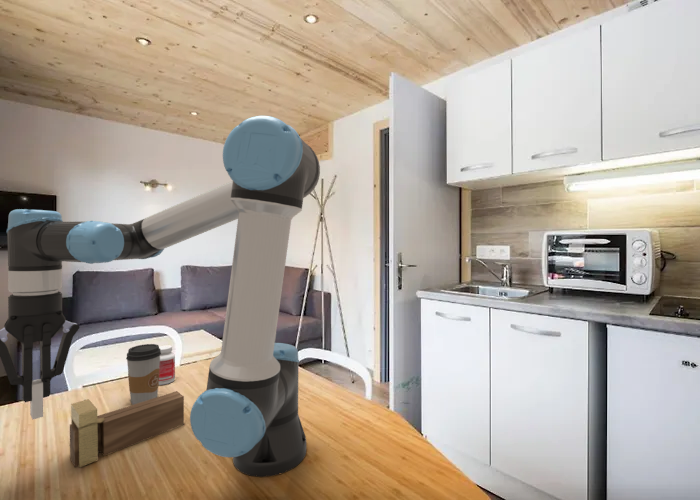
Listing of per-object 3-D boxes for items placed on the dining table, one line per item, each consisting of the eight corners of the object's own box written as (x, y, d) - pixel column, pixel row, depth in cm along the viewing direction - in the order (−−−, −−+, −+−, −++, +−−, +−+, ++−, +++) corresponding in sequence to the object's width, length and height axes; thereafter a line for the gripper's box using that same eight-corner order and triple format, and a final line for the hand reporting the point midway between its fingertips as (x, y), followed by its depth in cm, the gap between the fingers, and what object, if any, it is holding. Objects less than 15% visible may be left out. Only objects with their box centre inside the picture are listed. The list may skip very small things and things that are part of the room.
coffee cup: (145, 409, 91) (145, 353, 91) (119, 406, 93) (118, 351, 93) (168, 396, 100) (167, 344, 99) (143, 393, 101) (142, 342, 101)
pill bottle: (177, 381, 110) (177, 347, 109) (156, 387, 105) (156, 351, 105) (171, 376, 114) (171, 343, 114) (150, 381, 110) (150, 347, 110)
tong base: (184, 424, 84) (184, 394, 84) (74, 467, 68) (74, 430, 68) (176, 418, 87) (176, 389, 87) (70, 458, 71) (69, 422, 71)
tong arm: (183, 424, 84) (183, 396, 84) (103, 455, 72) (103, 422, 72) (180, 421, 86) (180, 393, 85) (101, 452, 73) (100, 419, 73)
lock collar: (97, 460, 70) (97, 409, 70) (79, 467, 68) (78, 414, 67) (89, 447, 74) (88, 399, 74) (71, 453, 72) (71, 403, 72)
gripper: (75, 287, 72) (75, 398, 73) (-16, 293, 62) (-15, 421, 63) (84, 291, 67) (84, 410, 68) (-13, 298, 58) (-12, 437, 58)
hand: (36, 415), depth 66 cm, fingers closed
